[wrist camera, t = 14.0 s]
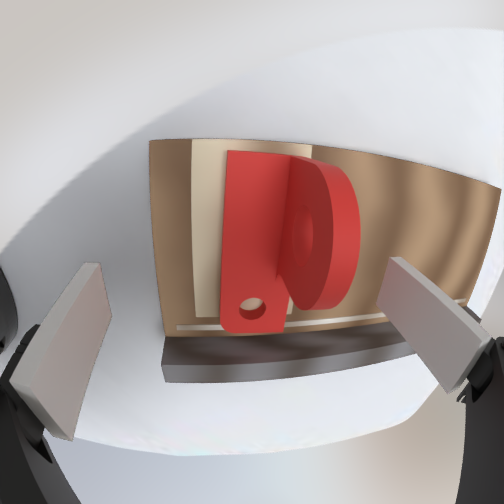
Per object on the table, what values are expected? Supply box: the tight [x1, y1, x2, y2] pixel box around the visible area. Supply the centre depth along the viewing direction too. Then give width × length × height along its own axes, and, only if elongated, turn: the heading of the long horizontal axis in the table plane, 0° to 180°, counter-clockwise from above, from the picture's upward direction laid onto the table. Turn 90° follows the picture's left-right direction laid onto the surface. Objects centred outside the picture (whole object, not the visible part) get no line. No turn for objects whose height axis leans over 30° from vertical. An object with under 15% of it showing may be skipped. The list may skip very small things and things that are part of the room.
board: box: [149, 139, 501, 383], centre depth 19 cm, size 32×16×5 cm, turn 87°
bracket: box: [220, 150, 361, 333], centre depth 14 cm, size 12×4×8 cm, turn 175°
